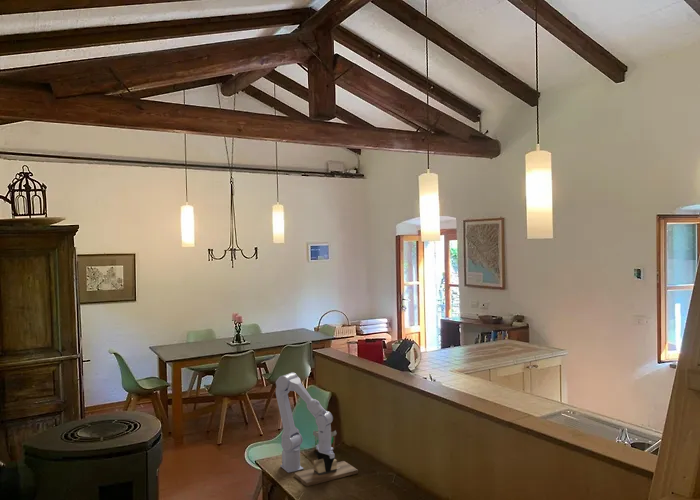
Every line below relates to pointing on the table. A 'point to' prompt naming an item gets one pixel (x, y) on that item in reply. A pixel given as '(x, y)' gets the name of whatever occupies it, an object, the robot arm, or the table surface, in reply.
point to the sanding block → (323, 467)
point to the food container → (331, 438)
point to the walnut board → (312, 478)
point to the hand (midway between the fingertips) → (325, 469)
